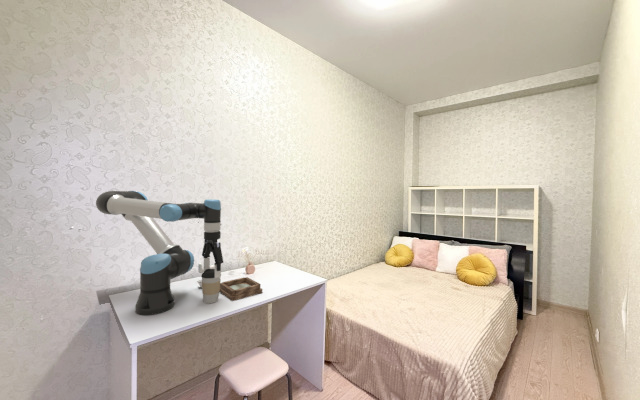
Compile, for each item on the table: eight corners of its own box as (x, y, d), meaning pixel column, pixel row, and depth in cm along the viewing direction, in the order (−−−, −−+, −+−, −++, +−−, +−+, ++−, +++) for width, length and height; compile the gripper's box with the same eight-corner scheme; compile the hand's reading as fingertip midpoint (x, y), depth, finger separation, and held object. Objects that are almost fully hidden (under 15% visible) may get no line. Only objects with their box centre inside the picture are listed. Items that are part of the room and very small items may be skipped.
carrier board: (232, 301, 129) (232, 292, 129) (218, 291, 141) (218, 282, 141) (262, 292, 141) (262, 284, 141) (246, 284, 153) (246, 276, 153)
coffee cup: (224, 299, 131) (225, 269, 130) (208, 306, 123) (208, 274, 123) (213, 295, 136) (213, 266, 135) (196, 301, 128) (197, 270, 127)
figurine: (217, 286, 148) (218, 260, 148) (202, 291, 141) (202, 263, 140) (210, 283, 152) (211, 257, 152) (194, 287, 145) (195, 261, 144)
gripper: (231, 233, 122) (230, 278, 122) (210, 227, 140) (209, 267, 140) (215, 235, 117) (214, 282, 117) (195, 228, 135) (195, 269, 135)
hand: (211, 274), depth 129 cm, fingers open, 13 cm apart
